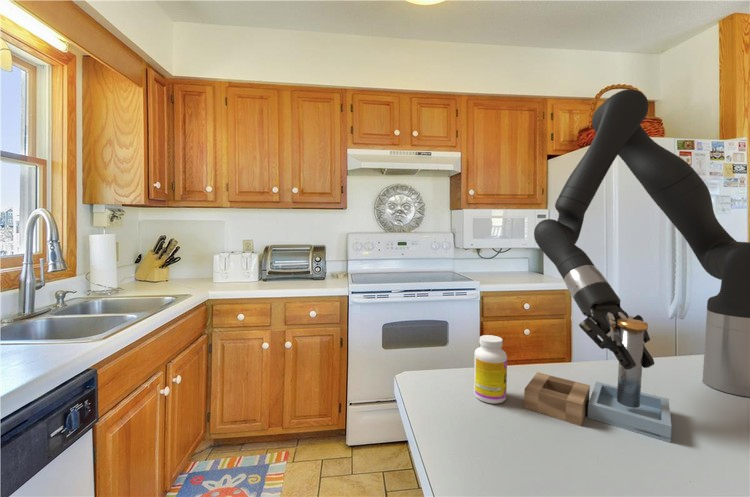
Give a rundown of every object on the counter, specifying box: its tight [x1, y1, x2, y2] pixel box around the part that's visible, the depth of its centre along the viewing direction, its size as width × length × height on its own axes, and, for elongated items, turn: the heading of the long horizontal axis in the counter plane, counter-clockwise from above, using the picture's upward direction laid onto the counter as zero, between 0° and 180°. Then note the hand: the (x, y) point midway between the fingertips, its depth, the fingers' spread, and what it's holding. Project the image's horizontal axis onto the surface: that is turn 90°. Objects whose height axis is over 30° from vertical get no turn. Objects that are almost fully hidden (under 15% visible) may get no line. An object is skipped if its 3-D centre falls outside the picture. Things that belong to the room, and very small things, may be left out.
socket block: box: [523, 372, 591, 427], centre depth 69 cm, size 10×10×4 cm
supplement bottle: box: [473, 334, 508, 405], centre depth 72 cm, size 7×7×13 cm
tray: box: [587, 381, 672, 444], centre depth 66 cm, size 12×12×3 cm
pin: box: [617, 318, 649, 408], centre depth 65 cm, size 5×5×16 cm
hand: (640, 366), depth 63 cm, fingers closed on pin, 3 cm apart
